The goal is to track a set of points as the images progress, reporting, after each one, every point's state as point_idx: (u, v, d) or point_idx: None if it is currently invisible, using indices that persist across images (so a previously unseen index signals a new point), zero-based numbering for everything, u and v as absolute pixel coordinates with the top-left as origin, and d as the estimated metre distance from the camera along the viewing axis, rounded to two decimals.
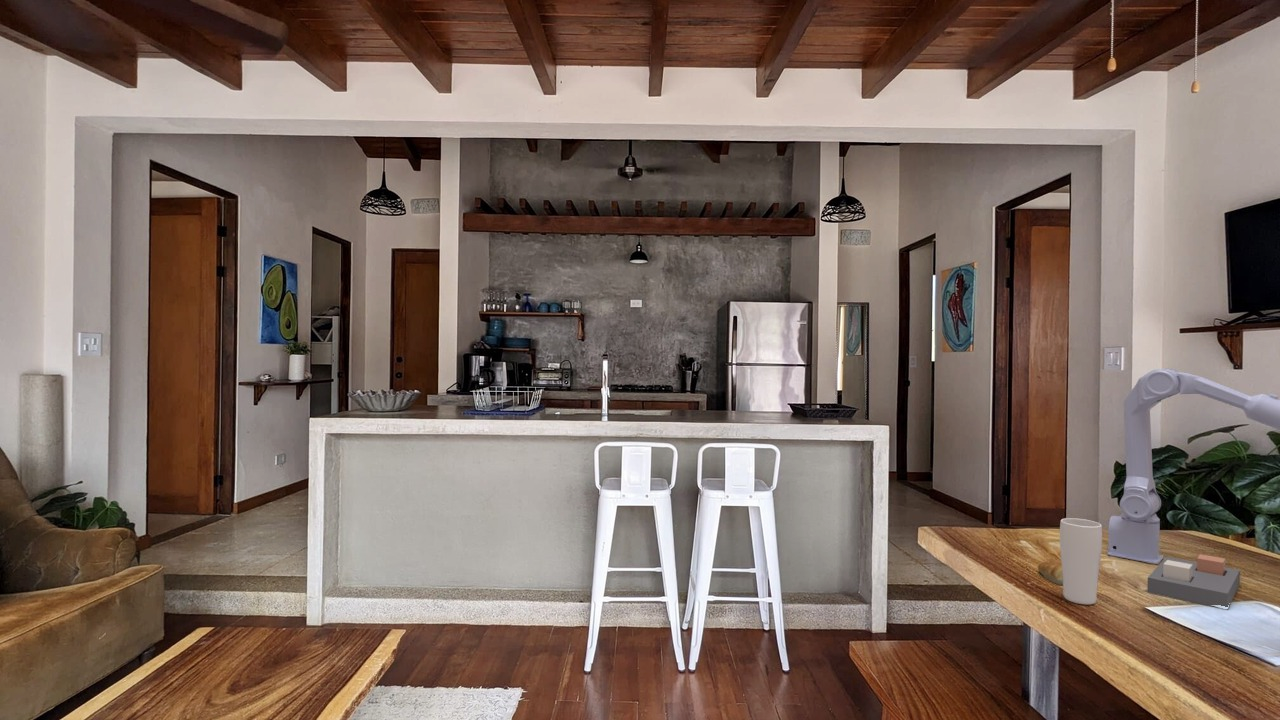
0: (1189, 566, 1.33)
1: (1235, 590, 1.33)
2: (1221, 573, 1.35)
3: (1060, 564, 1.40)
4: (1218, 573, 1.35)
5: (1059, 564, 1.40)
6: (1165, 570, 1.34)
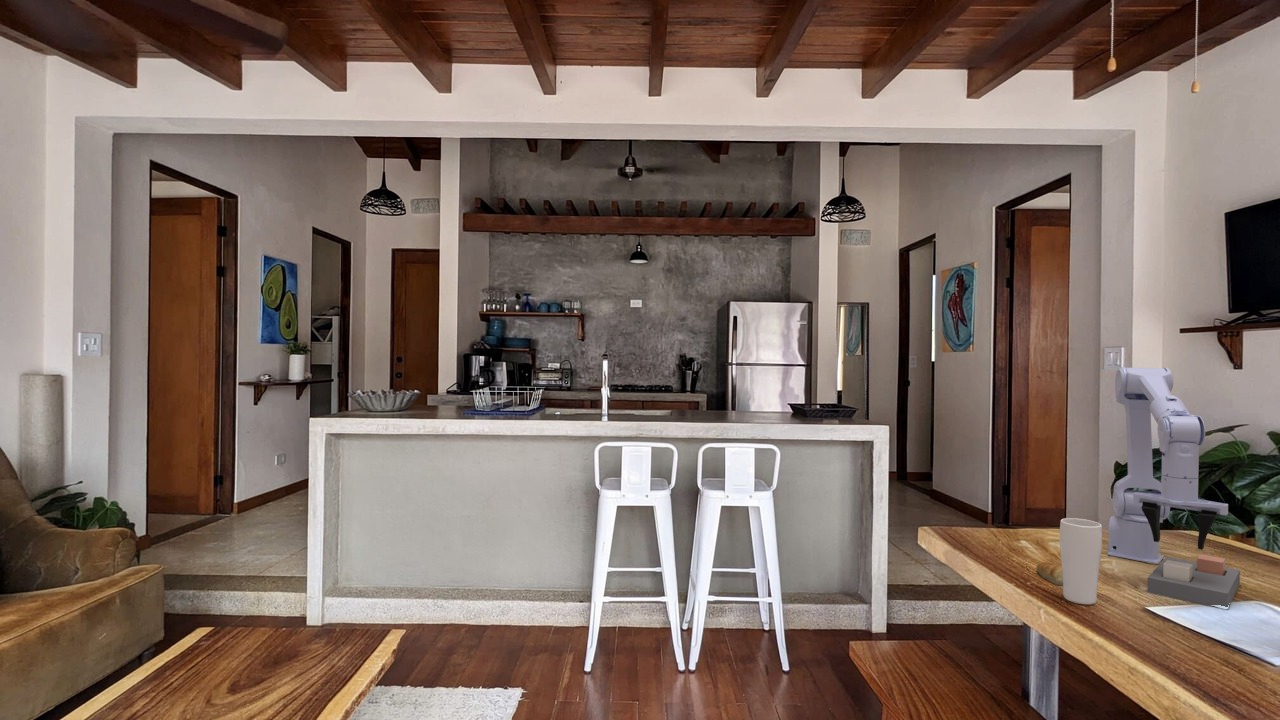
0: (1189, 566, 1.33)
1: (1235, 590, 1.33)
2: (1221, 573, 1.35)
3: (1059, 564, 1.40)
4: (1218, 573, 1.35)
5: (1058, 564, 1.40)
6: (1165, 570, 1.34)
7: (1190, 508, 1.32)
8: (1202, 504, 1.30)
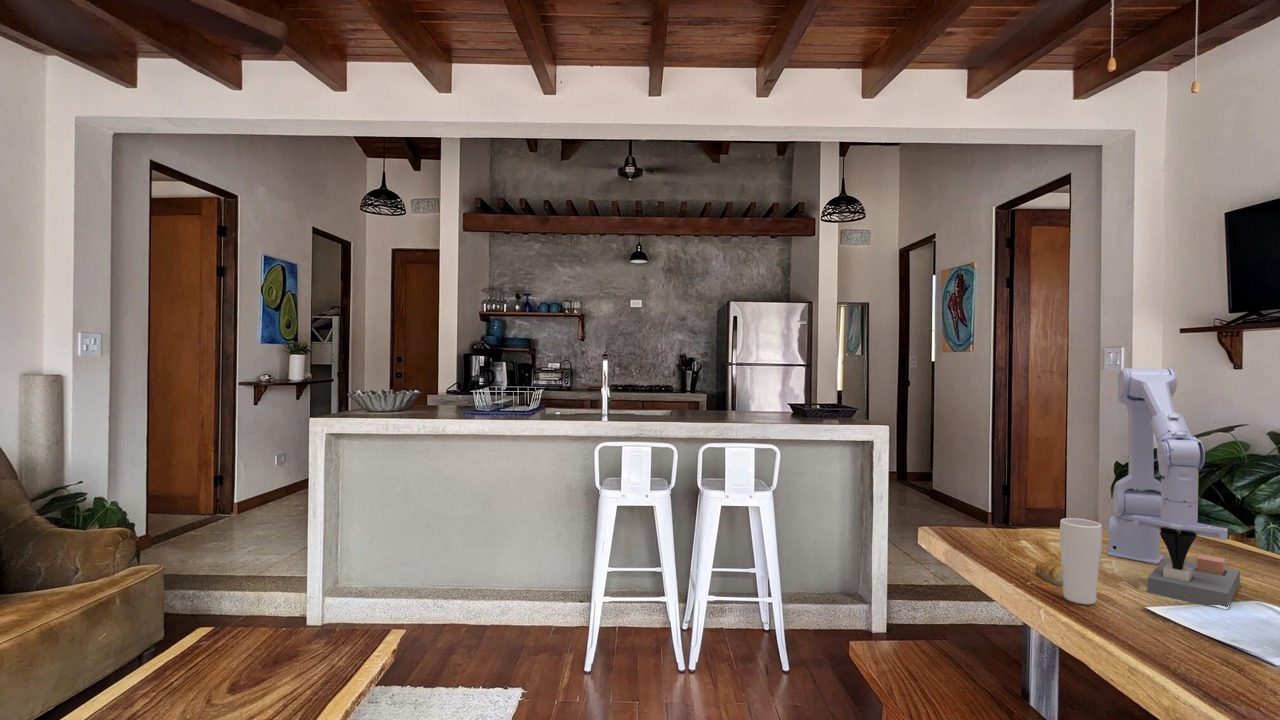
0: (1189, 570, 1.33)
1: (1235, 590, 1.33)
2: (1221, 573, 1.35)
3: (1058, 565, 1.40)
4: (1218, 573, 1.35)
5: (1057, 565, 1.40)
6: (1165, 573, 1.34)
7: (1190, 532, 1.32)
8: (1202, 528, 1.30)
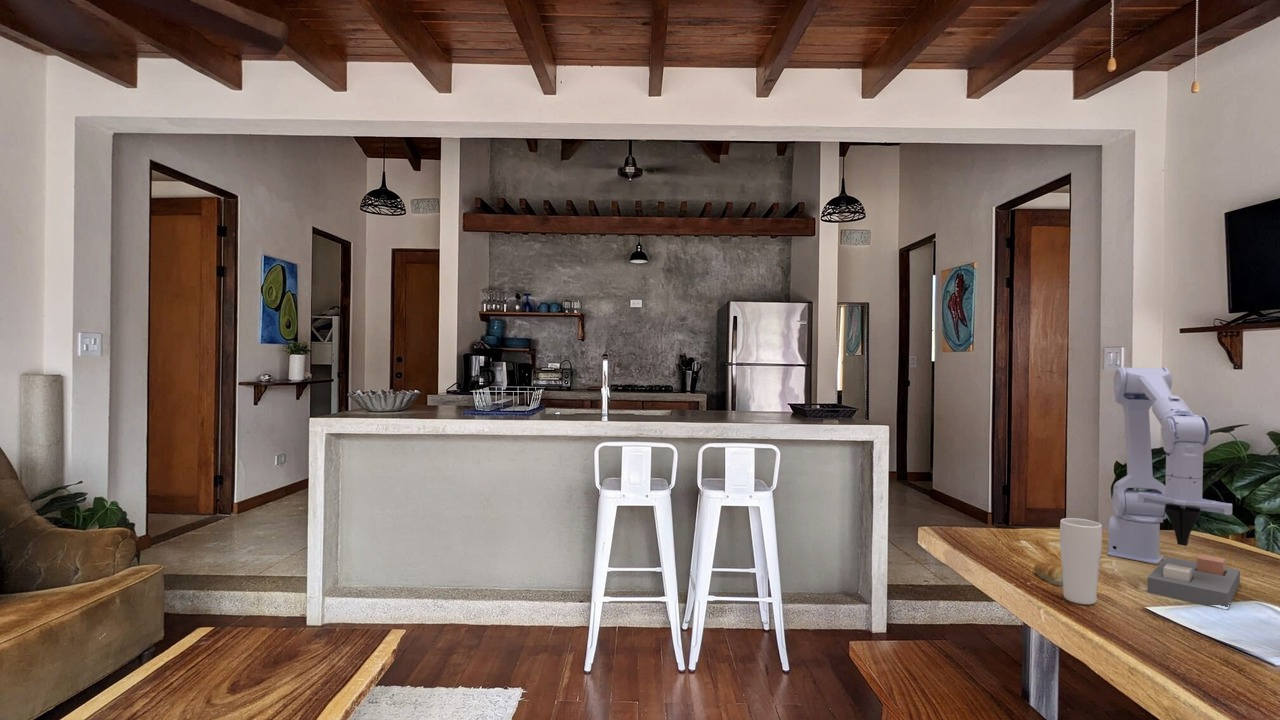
0: (1189, 570, 1.33)
1: (1235, 590, 1.33)
2: (1221, 573, 1.35)
3: (1057, 565, 1.40)
4: (1218, 573, 1.35)
5: (1056, 565, 1.40)
6: (1165, 573, 1.34)
7: (1194, 508, 1.33)
8: (1206, 504, 1.30)
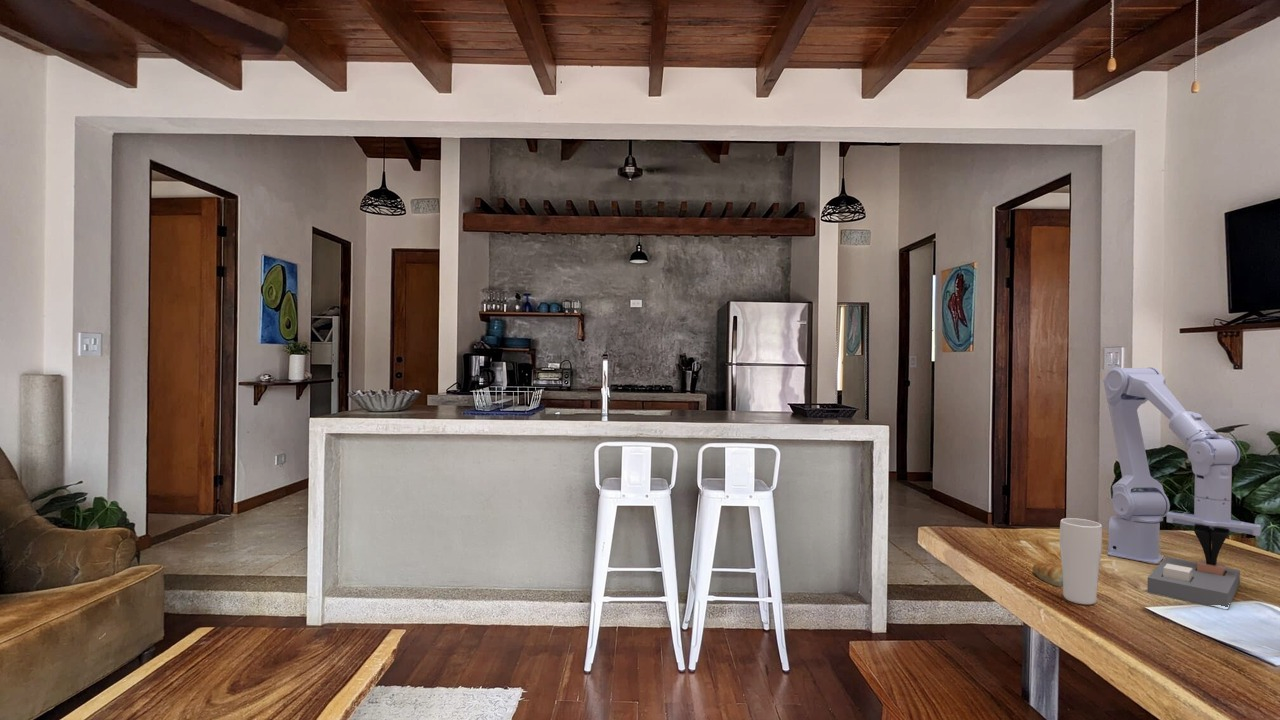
0: (1189, 570, 1.33)
1: (1235, 590, 1.33)
2: None
3: (1056, 565, 1.39)
4: None
5: (1055, 565, 1.40)
6: (1165, 573, 1.34)
7: (1223, 528, 1.36)
8: (1235, 525, 1.34)
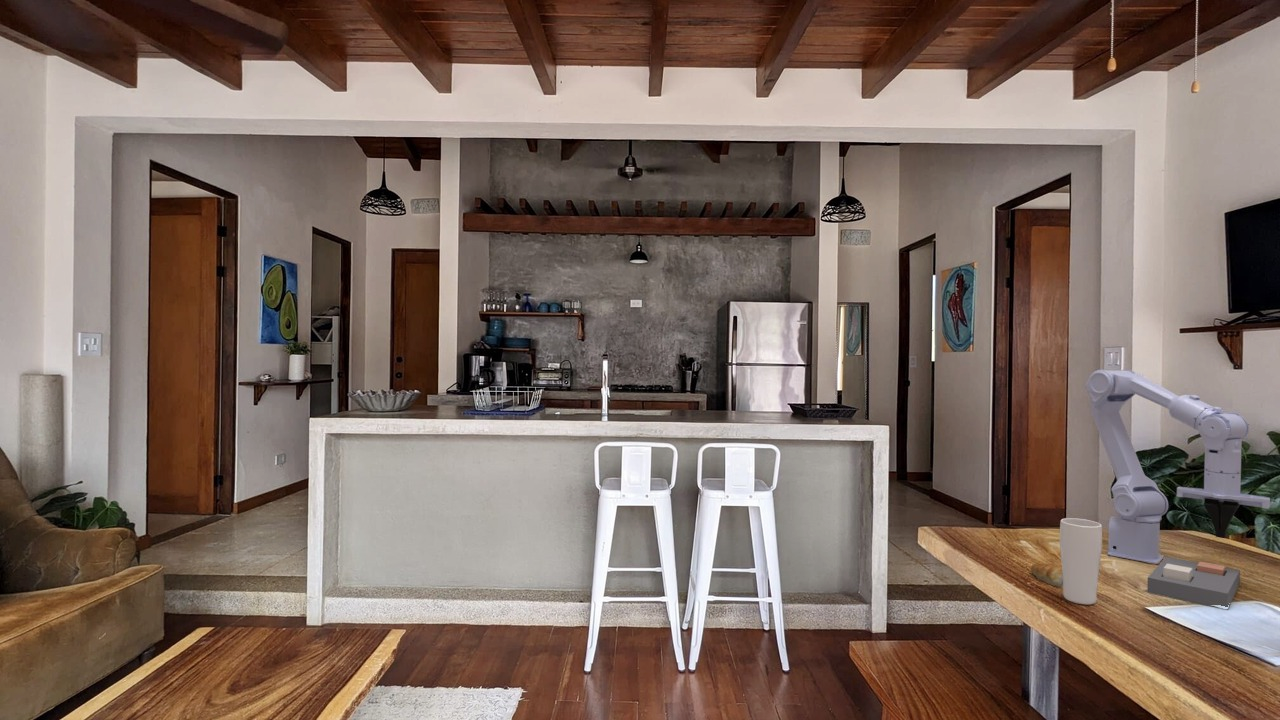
0: (1189, 570, 1.33)
1: (1235, 590, 1.33)
2: None
3: (1054, 565, 1.39)
4: None
5: (1053, 565, 1.39)
6: (1165, 573, 1.34)
7: (1233, 502, 1.38)
8: (1245, 498, 1.36)
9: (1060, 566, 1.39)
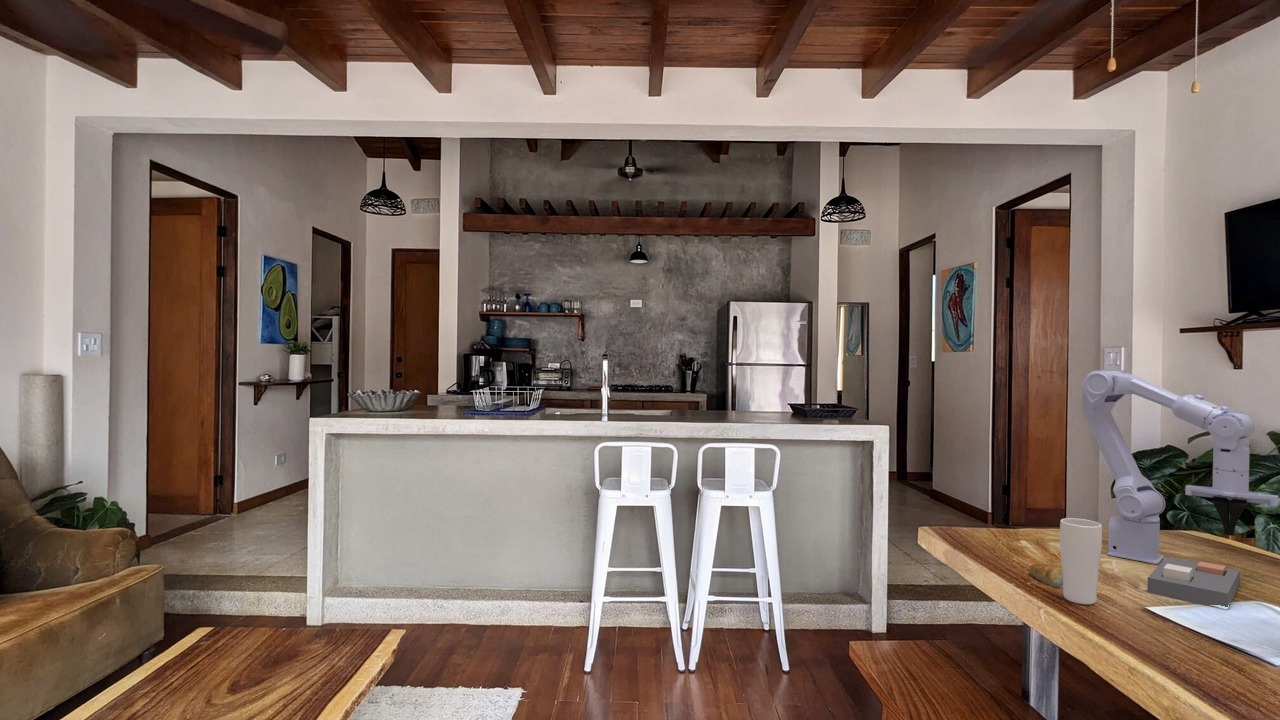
0: (1189, 570, 1.33)
1: (1235, 590, 1.33)
2: None
3: (1053, 566, 1.39)
4: None
5: (1052, 566, 1.39)
6: (1165, 573, 1.34)
7: (1241, 500, 1.40)
8: (1253, 496, 1.38)
9: (1059, 566, 1.39)
